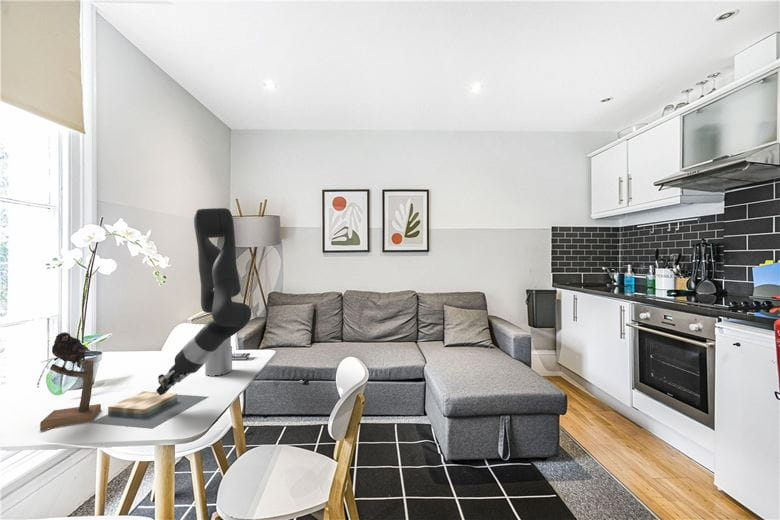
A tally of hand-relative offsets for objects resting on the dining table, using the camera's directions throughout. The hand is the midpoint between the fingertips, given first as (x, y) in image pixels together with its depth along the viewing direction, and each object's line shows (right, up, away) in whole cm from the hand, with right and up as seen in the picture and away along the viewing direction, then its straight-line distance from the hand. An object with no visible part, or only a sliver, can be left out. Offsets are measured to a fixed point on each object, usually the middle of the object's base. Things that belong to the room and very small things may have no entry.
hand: (160, 392), depth 105 cm
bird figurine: (-22, -6, -3) cm, 23 cm away
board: (0, -4, 0) cm, 4 cm away
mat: (-2, -5, 0) cm, 6 cm away
